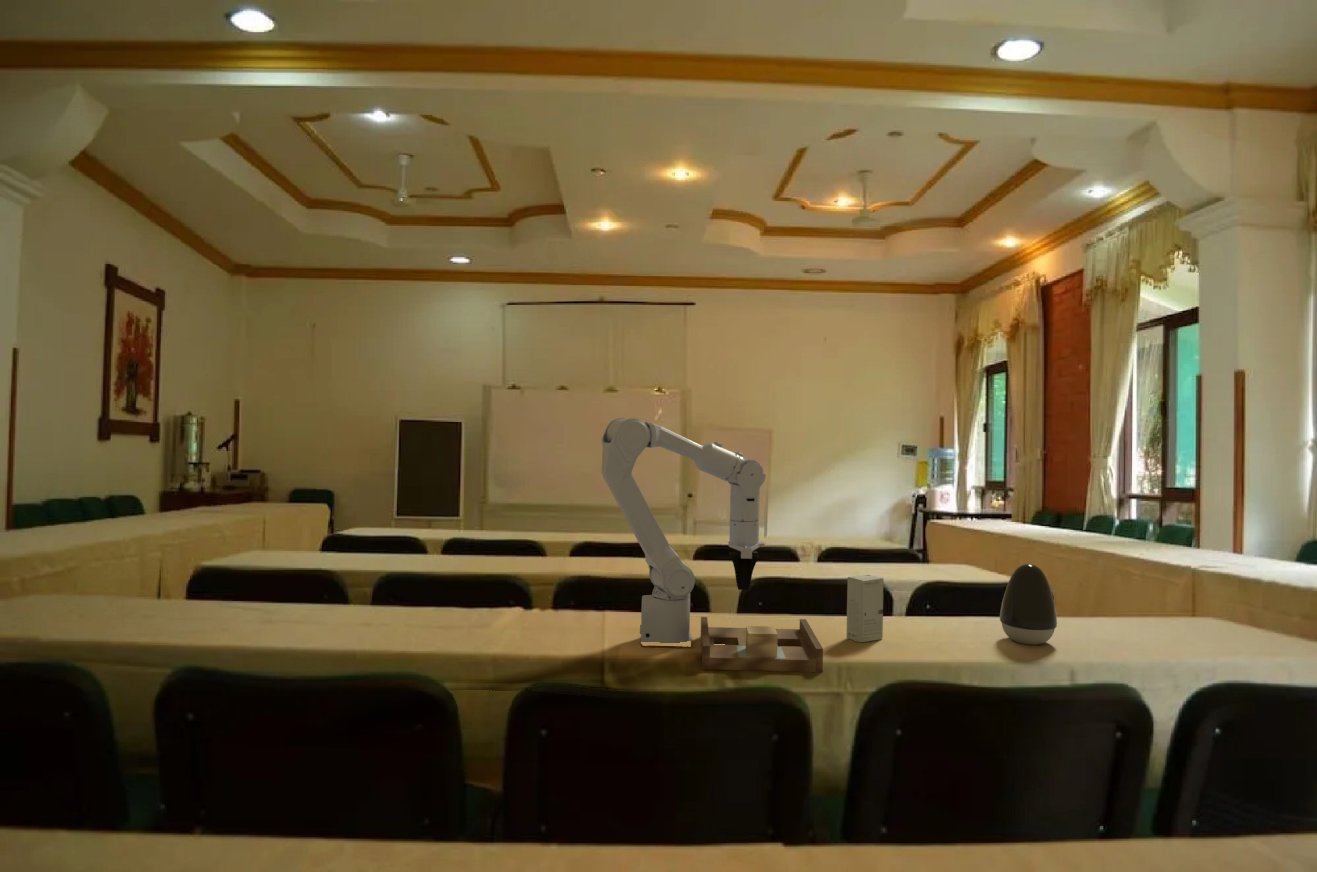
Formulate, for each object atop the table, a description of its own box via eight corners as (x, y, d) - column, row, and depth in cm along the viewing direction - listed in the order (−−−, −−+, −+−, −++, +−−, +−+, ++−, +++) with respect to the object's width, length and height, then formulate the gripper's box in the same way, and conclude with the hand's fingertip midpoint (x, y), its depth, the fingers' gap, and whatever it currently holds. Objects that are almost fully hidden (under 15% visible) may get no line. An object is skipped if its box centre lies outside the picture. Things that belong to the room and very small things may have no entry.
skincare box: (862, 643, 156) (863, 580, 156) (844, 638, 160) (846, 576, 160) (884, 639, 160) (885, 577, 159) (866, 633, 163) (867, 573, 163)
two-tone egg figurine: (1055, 637, 162) (1057, 562, 162) (1056, 651, 153) (1059, 570, 152) (1000, 631, 167) (1002, 557, 166) (998, 644, 157) (1000, 565, 157)
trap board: (702, 668, 139) (702, 645, 139) (700, 637, 159) (700, 616, 159) (822, 672, 138) (823, 648, 138) (805, 639, 158) (805, 619, 158)
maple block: (747, 656, 140) (748, 633, 140) (745, 648, 145) (746, 625, 145) (777, 657, 140) (777, 634, 139) (774, 648, 145) (774, 626, 144)
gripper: (768, 525, 152) (767, 597, 152) (761, 515, 166) (760, 581, 167) (730, 524, 152) (729, 596, 152) (726, 515, 166) (725, 581, 167)
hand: (743, 589), depth 159 cm, fingers closed
